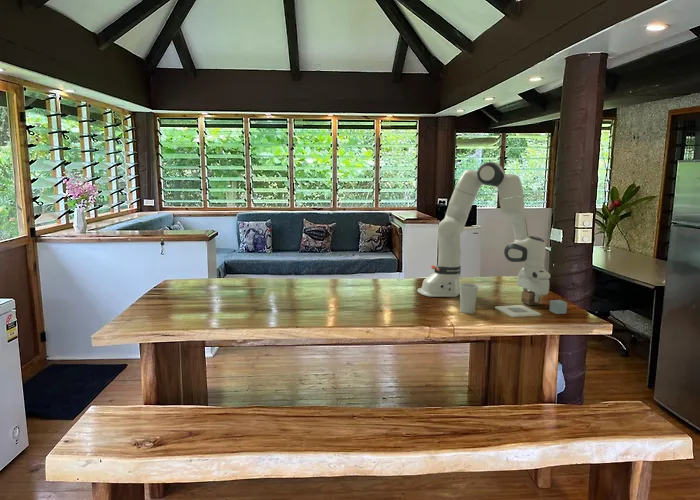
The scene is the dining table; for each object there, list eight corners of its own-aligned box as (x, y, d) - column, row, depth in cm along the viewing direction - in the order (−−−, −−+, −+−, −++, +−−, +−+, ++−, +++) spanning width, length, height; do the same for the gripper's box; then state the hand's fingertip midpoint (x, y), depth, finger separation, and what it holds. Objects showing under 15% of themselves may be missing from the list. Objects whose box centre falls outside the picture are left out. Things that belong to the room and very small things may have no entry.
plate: (512, 317, 206) (512, 315, 206) (495, 308, 220) (495, 306, 220) (540, 315, 210) (540, 313, 210) (521, 306, 223) (522, 304, 223)
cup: (473, 315, 209) (474, 288, 207) (455, 312, 213) (457, 285, 211) (478, 310, 215) (480, 284, 213) (461, 307, 220) (463, 282, 218)
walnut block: (528, 304, 224) (529, 294, 223) (521, 301, 230) (522, 291, 229) (539, 304, 225) (540, 294, 225) (532, 300, 231) (533, 290, 230)
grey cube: (556, 314, 212) (557, 303, 211) (549, 311, 217) (550, 300, 216) (566, 313, 214) (567, 302, 213) (558, 310, 218) (559, 299, 217)
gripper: (514, 266, 234) (512, 294, 237) (540, 276, 215) (537, 305, 217) (526, 266, 236) (523, 293, 238) (553, 275, 216) (550, 305, 218)
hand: (530, 299), depth 227 cm, fingers closed on walnut block, 6 cm apart
